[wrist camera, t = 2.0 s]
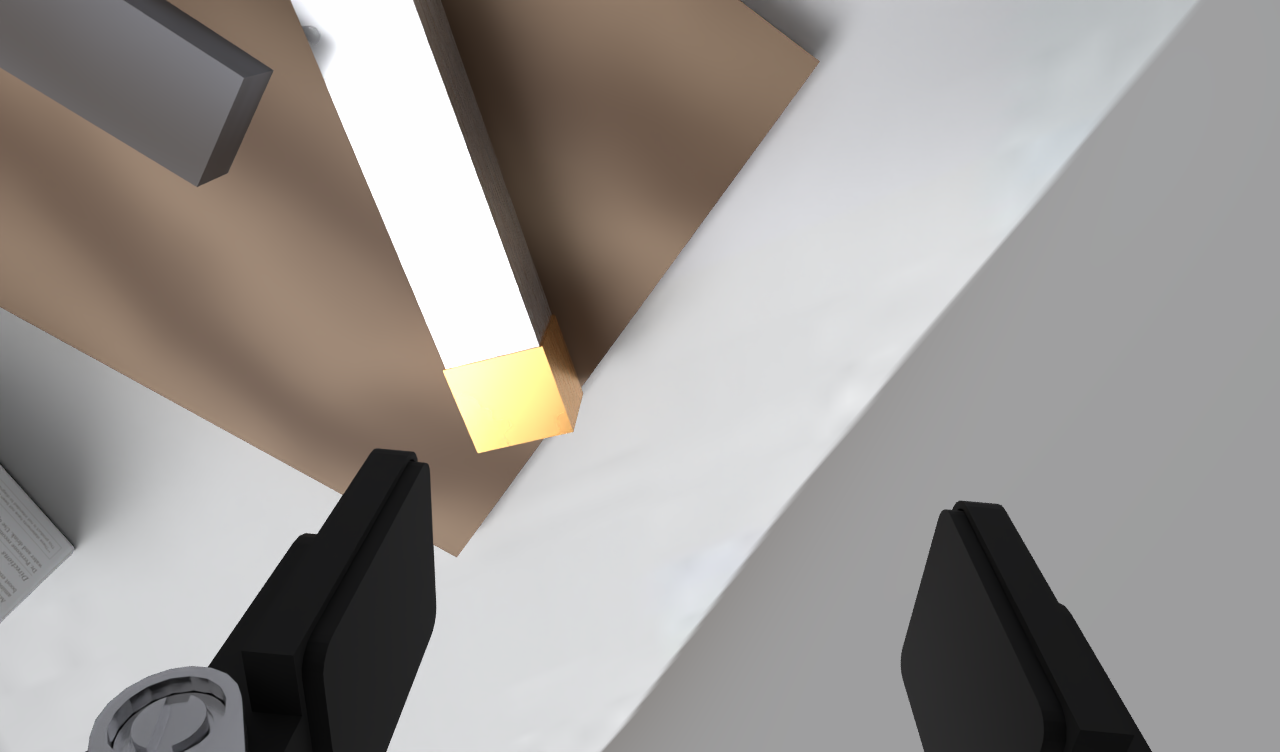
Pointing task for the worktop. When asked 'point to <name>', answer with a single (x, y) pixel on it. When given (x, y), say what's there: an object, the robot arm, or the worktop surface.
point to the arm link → (447, 212)
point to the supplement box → (25, 545)
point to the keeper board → (351, 205)
